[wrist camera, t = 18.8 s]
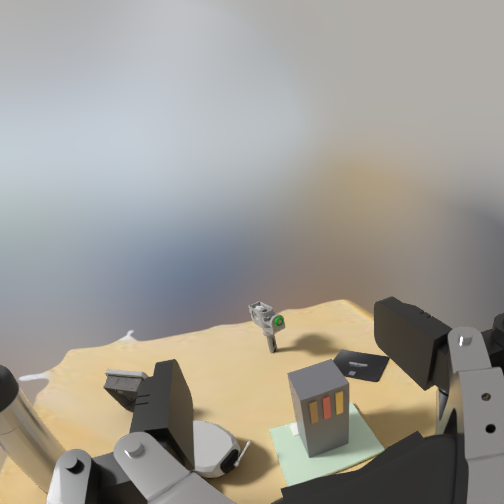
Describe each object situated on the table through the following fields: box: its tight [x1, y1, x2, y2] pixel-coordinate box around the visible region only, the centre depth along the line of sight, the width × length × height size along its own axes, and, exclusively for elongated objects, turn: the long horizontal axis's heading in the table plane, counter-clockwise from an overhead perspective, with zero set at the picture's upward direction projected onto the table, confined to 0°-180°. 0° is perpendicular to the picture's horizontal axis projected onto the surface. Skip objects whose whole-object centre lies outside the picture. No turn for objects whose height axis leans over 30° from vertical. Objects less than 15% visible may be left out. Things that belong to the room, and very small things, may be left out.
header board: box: [269, 402, 385, 487], centre depth 30 cm, size 13×11×10 cm
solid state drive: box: [333, 350, 389, 382], centre depth 46 cm, size 7×10×1 cm
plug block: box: [287, 359, 349, 458], centre depth 30 cm, size 6×5×12 cm
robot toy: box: [188, 420, 251, 478], centre depth 29 cm, size 12×4×15 cm
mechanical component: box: [249, 301, 285, 353], centre depth 56 cm, size 3×10×10 cm, turn 28°
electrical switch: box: [104, 369, 148, 410], centre depth 44 cm, size 9×5×9 cm, turn 80°
